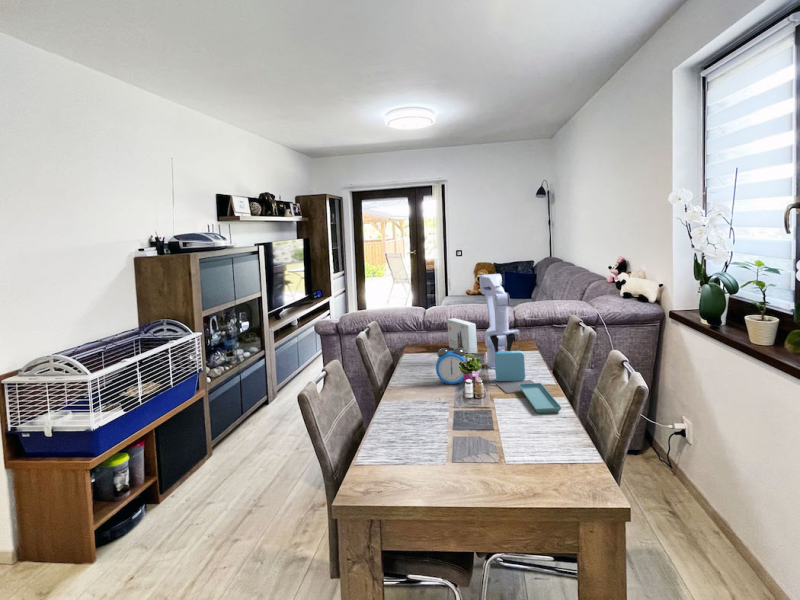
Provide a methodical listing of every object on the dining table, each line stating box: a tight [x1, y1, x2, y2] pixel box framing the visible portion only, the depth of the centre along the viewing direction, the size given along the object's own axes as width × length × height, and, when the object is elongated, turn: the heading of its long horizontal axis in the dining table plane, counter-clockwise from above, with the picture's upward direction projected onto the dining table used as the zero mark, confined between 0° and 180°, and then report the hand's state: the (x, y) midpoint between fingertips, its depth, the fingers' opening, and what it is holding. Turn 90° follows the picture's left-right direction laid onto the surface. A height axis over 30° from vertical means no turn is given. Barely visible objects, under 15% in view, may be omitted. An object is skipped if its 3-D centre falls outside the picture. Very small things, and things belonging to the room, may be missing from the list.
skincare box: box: [446, 317, 478, 354], centre depth 275 cm, size 21×5×16 cm, turn 25°
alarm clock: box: [435, 347, 466, 385], centre depth 219 cm, size 13×6×15 cm, turn 85°
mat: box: [495, 379, 535, 395], centre depth 209 cm, size 13×15×1 cm
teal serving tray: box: [518, 382, 562, 414], centre depth 191 cm, size 26×9×2 cm, turn 0°
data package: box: [494, 350, 526, 382], centre depth 218 cm, size 12×4×12 cm, turn 79°
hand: (502, 351), depth 225 cm, fingers open, 5 cm apart
